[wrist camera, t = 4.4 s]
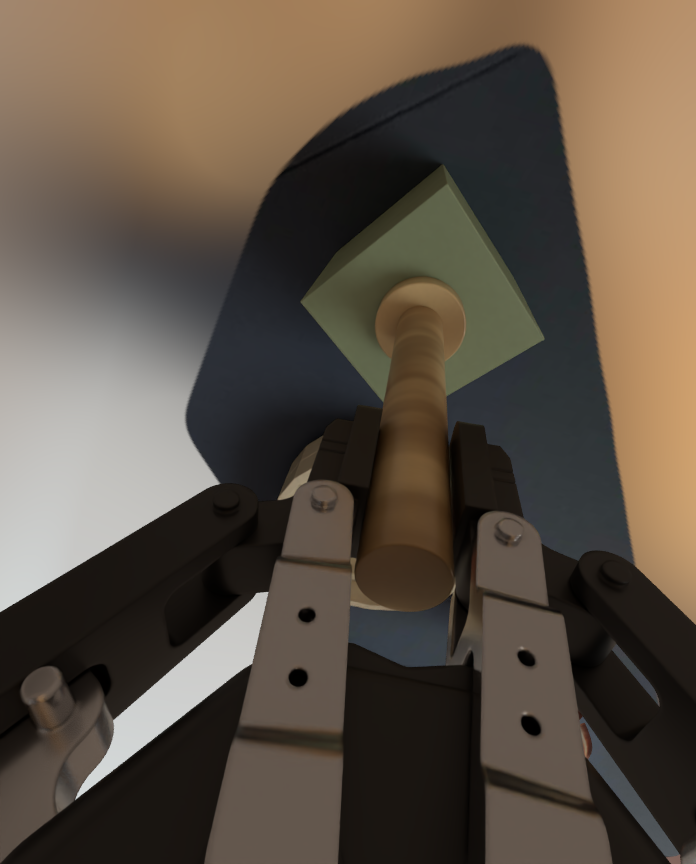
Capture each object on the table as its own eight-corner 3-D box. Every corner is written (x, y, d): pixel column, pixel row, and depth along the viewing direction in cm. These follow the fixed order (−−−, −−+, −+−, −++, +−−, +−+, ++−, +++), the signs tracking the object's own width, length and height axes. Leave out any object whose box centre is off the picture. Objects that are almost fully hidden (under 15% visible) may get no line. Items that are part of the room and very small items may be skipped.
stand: (335, 252, 31) (299, 301, 22) (443, 163, 27) (447, 182, 19) (408, 348, 33) (400, 423, 25) (514, 278, 30) (545, 339, 22)
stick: (359, 311, 22) (265, 553, 10) (432, 256, 20) (431, 469, 8) (409, 375, 24) (382, 659, 11) (482, 329, 22) (547, 607, 9)
